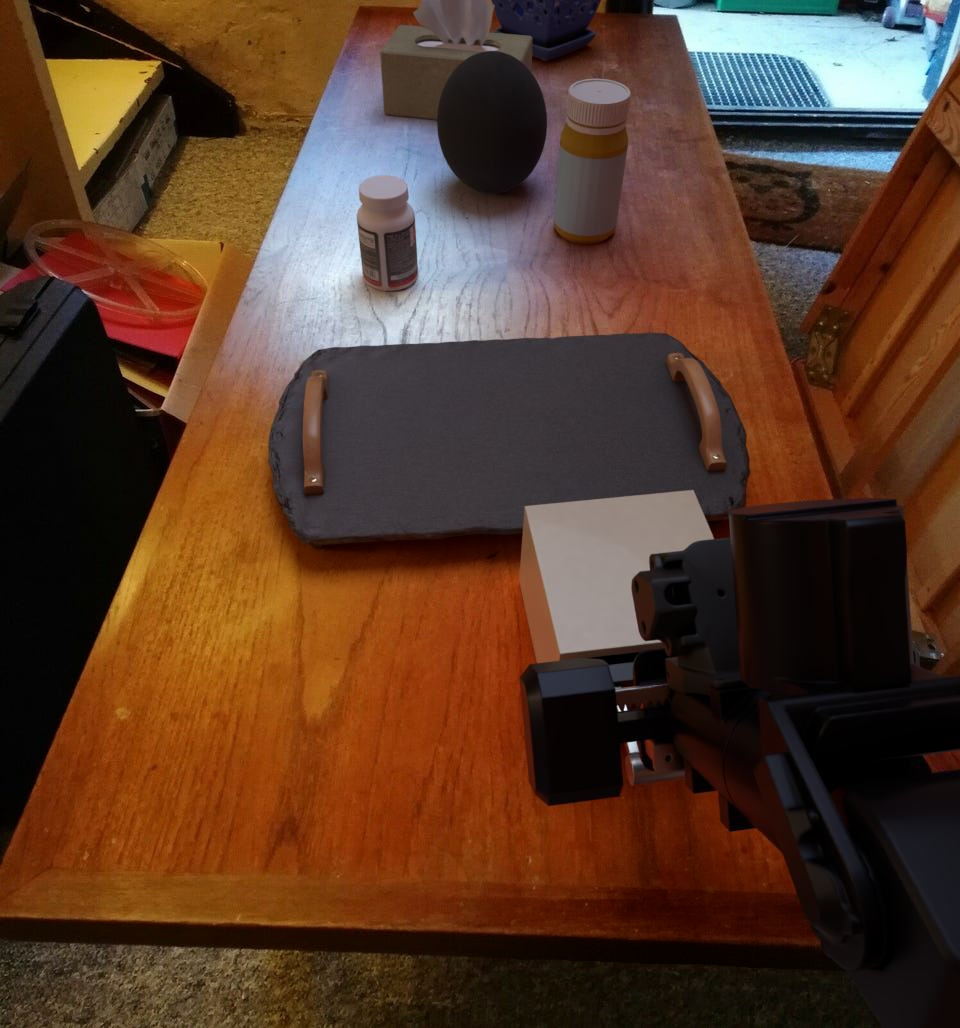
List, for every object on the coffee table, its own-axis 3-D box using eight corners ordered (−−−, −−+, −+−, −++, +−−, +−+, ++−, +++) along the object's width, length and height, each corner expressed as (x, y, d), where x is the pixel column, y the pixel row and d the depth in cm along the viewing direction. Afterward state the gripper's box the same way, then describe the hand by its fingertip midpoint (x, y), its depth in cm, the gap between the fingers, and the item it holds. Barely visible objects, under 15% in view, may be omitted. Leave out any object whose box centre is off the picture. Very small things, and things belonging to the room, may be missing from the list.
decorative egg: (559, 203, 100) (571, 67, 89) (460, 222, 97) (459, 84, 85) (517, 157, 107) (523, 26, 96) (424, 173, 104) (419, 40, 93)
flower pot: (539, 25, 138) (544, -62, 129) (604, 47, 132) (614, -42, 123) (482, 46, 132) (483, -43, 123) (548, 71, 126) (554, -21, 117)
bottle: (545, 239, 94) (556, 99, 83) (561, 209, 99) (574, 72, 88) (607, 251, 93) (627, 110, 82) (621, 220, 97) (641, 82, 86)
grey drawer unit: (723, 701, 56) (754, 631, 50) (549, 723, 55) (559, 654, 49) (672, 564, 64) (693, 489, 58) (518, 580, 63) (524, 505, 57)
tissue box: (381, 115, 115) (372, -18, 103) (400, 86, 121) (393, -43, 110) (520, 128, 113) (526, -6, 101) (531, 98, 119) (538, -32, 107)
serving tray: (696, 353, 81) (710, 297, 76) (775, 539, 66) (798, 483, 61) (282, 373, 78) (271, 316, 74) (262, 572, 63) (246, 516, 58)
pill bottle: (420, 263, 91) (416, 173, 83) (416, 293, 87) (411, 202, 80) (366, 261, 91) (357, 171, 84) (359, 292, 87) (350, 200, 80)
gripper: (1004, 533, 34) (810, 514, 49) (540, 583, 32) (490, 547, 47) (1020, 808, 34) (823, 704, 50) (565, 873, 33) (508, 744, 48)
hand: (664, 671), depth 49 cm, fingers closed
